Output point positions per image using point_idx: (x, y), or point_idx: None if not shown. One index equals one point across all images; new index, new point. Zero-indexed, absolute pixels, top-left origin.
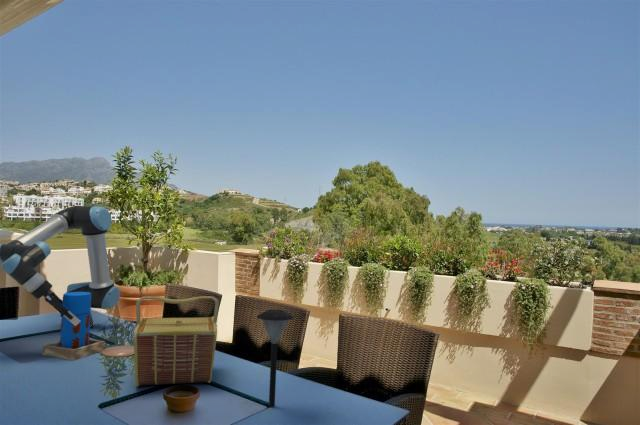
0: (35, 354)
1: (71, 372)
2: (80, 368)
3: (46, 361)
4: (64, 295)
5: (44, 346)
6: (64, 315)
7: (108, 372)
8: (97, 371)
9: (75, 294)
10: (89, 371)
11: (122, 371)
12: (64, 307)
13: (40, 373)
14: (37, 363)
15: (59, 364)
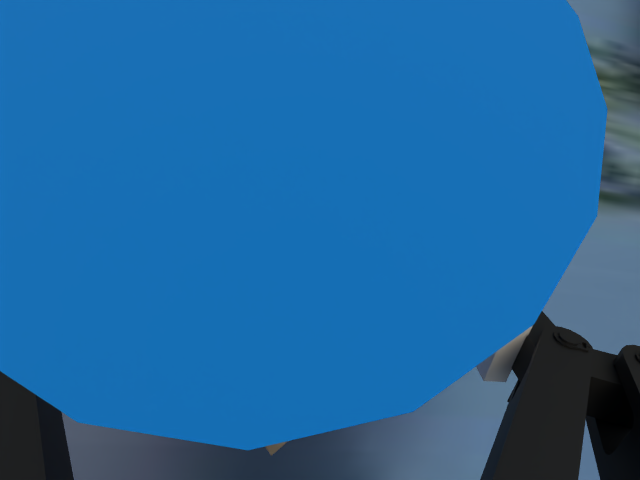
0: (241, 474)
1: (606, 330)
2: (558, 291)
3: (403, 422)
4: (388, 414)
5: (282, 445)
6: (503, 367)
7: (633, 207)
8: (613, 239)
9: (402, 109)
10: (607, 265)
11: (630, 165)
12: (588, 386)
13: (594, 457)
14: (424, 467)
15: (474, 367)
